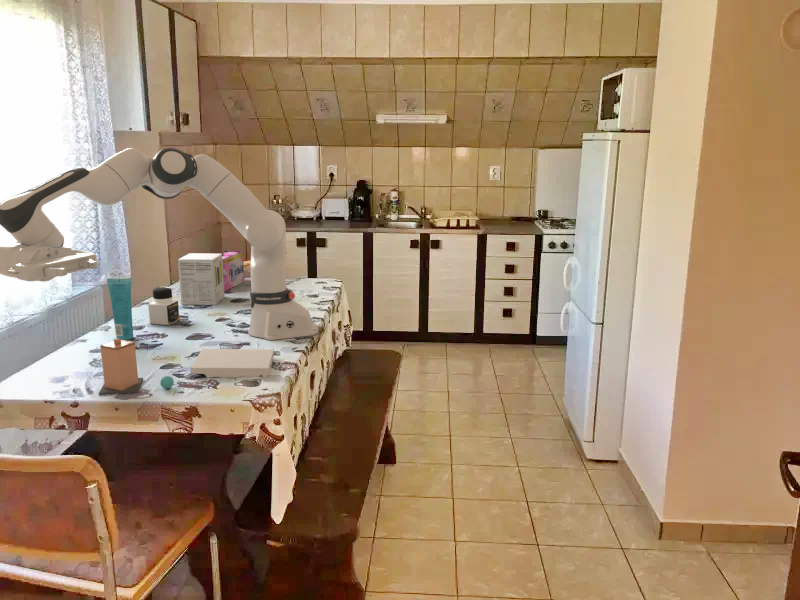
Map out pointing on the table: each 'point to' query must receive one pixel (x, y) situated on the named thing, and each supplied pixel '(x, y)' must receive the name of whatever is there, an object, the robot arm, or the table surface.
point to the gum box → (232, 268)
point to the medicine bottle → (163, 307)
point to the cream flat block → (233, 362)
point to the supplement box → (201, 278)
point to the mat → (131, 389)
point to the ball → (167, 382)
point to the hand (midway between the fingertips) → (80, 268)
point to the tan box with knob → (119, 364)
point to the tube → (121, 307)
